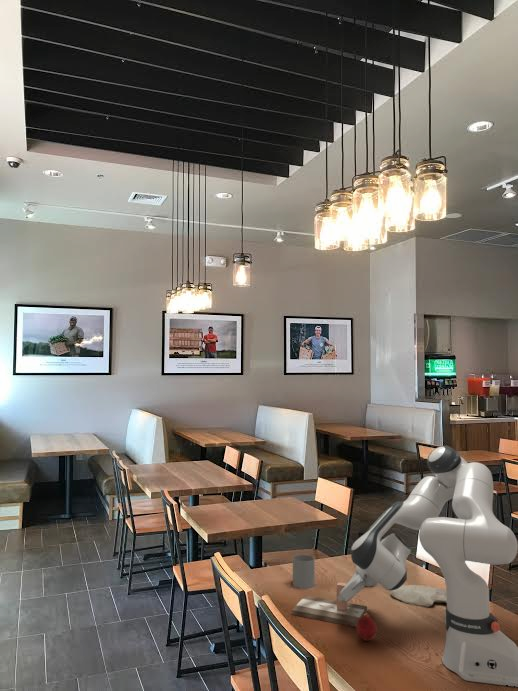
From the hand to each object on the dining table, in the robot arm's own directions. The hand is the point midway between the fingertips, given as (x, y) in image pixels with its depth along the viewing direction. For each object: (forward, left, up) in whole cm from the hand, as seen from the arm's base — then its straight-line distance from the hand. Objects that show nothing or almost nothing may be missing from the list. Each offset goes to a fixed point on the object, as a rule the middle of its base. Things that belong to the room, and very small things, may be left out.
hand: (340, 597), depth 184 cm
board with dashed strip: (+4, 0, -6) cm, 7 cm away
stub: (0, 0, -4) cm, 4 cm away
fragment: (-22, -25, -6) cm, 34 cm away
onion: (-12, +15, -6) cm, 20 cm away
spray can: (-1, -32, -6) cm, 33 cm away
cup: (+21, -21, -6) cm, 30 cm away
